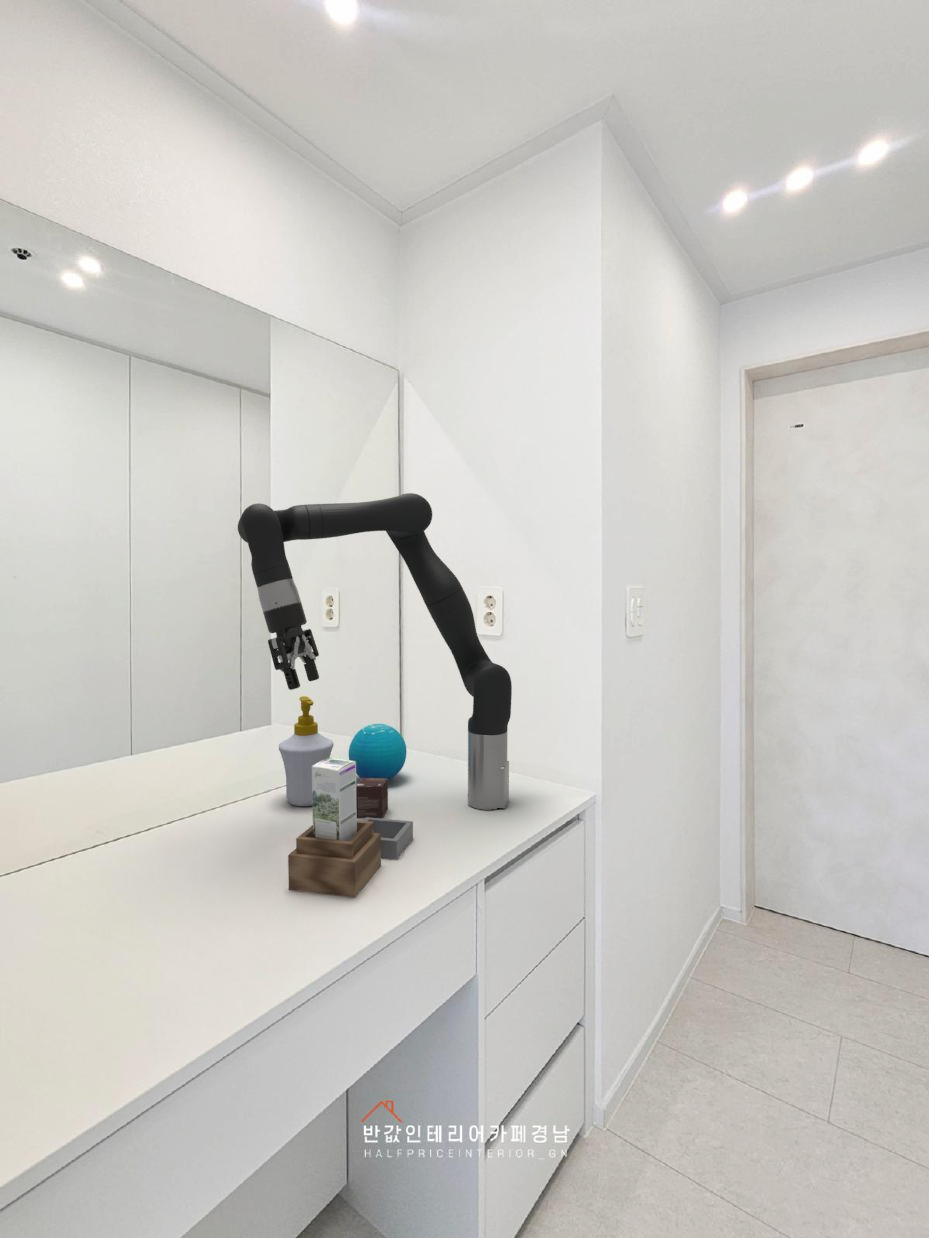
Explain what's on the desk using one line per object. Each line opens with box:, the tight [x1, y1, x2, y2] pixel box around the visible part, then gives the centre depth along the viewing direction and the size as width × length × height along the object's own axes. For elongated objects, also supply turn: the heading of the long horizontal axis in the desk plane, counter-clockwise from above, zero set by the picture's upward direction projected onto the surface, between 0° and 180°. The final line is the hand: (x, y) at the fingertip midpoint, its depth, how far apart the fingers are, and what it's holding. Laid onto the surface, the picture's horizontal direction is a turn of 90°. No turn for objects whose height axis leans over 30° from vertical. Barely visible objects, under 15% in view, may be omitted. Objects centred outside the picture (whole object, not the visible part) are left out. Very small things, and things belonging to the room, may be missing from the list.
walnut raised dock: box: [287, 819, 382, 899], centre depth 110 cm, size 12×12×8 cm
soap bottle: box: [278, 696, 334, 807], centre depth 148 cm, size 13×13×25 cm
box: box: [356, 778, 389, 819], centre depth 140 cm, size 6×6×7 cm
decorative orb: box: [348, 723, 407, 781], centre depth 163 cm, size 15×15×15 cm
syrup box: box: [312, 757, 358, 841], centre depth 109 cm, size 6×6×14 cm
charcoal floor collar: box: [362, 817, 414, 860], centre depth 123 cm, size 10×10×4 cm
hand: (304, 684), depth 124 cm, fingers open, 8 cm apart
